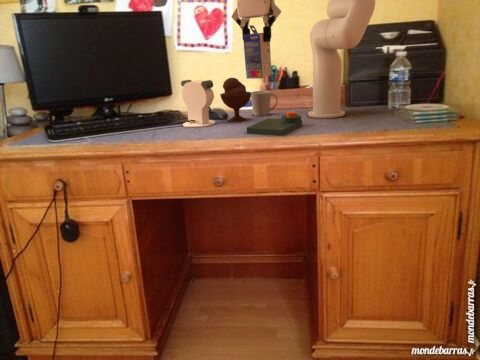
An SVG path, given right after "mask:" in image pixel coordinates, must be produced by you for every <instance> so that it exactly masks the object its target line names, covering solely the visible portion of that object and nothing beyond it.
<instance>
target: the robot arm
mask: <svg viewBox="0 0 480 360" xmlns="http://www.w3.org/2000/svg"><path fill="white" fill-rule="evenodd" d="M375 6H376V0H328V1H327V5H326V15H327V17H328V18H325V19H321V20H319V21H317V22H315V23H314V24H313V25H312V26H311V28H310V32H309V41H310V46H311V52H312V110H311V111H308V113H307V114H308V116H309V117H310V118H316V119H335V118H342V117H344V116H345V115H346V111H345V110H344V109H343V110H342V109H341V106H342V105H341V101H342V68H343V67H342V66H343V65H342V58H341V55H340V53H339V51H338V50H349V49H350V50H351V49H354V48H356V47H357V45H359V44H360V42H361V40H362V38H363V36H364V35H365V32H366V29H367V28H368V26H369V23H370V21H371V19H372V17H373V14H374V12H375V10H376V9H375V8H376V7H375ZM281 14H282V10H281V9H280V8H279V6H277V5H276V1H275V0H236V8H235V10H234V11H233V13H232V15H231V19H232V20H233V21H234V22H235V23H236V24H237V25H238V26H239V28H240V29H241V34H242V37H241V38H243V35H247V34H251V28H250V26H249V25H250V20H251V19H255V18H261V19H262V22H263V24H264V26H263V27H262V33H263V39H264V42H270V43H271V40H272V27H273V25H274V23H275V21H277V19H278V18H279V16H280V15H281ZM242 41H243V42H244V40H243V39H242Z"/></svg>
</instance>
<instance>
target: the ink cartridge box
mask: <svg viewBox="0 0 480 360" xmlns="http://www.w3.org/2000/svg"><path fill="white" fill-rule="evenodd" d="M248 27H249V28H250V31H251V32H252V33H250V34H247V35H243V37H242V41H243V40H244V41H243V54H244V64H245V75H246V79H247V80H248V79H249V80H250V79H253V80H255V79H264V78H266V77H269V76H272V55H271V41H270V42H264V39H263V32H258V31H257V28H256V27H255V26H254V25H253V24H249V26H248Z"/></svg>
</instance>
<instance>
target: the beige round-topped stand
mask: <svg viewBox="0 0 480 360" xmlns="http://www.w3.org/2000/svg"><path fill="white" fill-rule="evenodd" d="M180 85H181V87H182V89H181V97H182V101H183V103H184V104H185V106H186V111H187V121H186V122H184V123H182V127H185V128H203V127H209V126H213V125H215V124H216V121H215V120H211V119H210V113H211V112H212V108H211V105H212V104H213V101H214V99H215V94H214V91H213V89H212V88H213V87H214V81H213V80H212V79H207V80H191V79H185V80H181V82H180ZM188 120H189V121H190V122H188ZM191 120H194V121H191Z"/></svg>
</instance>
